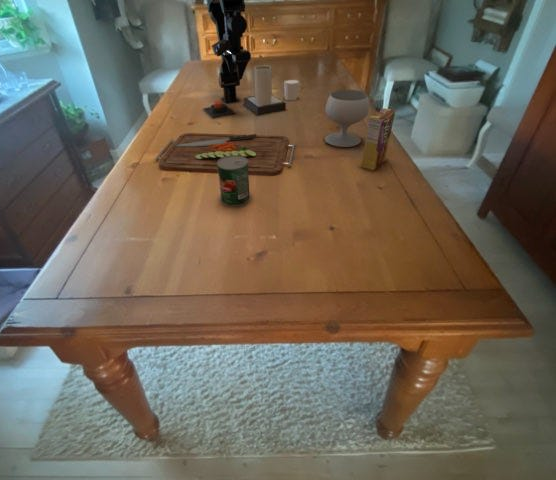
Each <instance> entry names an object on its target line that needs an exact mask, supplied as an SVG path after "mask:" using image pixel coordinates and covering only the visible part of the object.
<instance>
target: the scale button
mask: <svg viewBox="0 0 556 480" xmlns="http://www.w3.org/2000/svg"><path fill="white" fill-rule="evenodd" d="M213 104H214V107H215V108H220V107H223V104H224V103H223V101H220V100H217V101H216V100H215V101H214V102H213Z"/></svg>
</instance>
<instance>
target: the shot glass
mask: <svg viewBox="0 0 556 480" xmlns="http://www.w3.org/2000/svg"><path fill="white" fill-rule="evenodd" d="M283 88H284V89H283V90H284V100H286V101H296V100H298V96H299V95H298V94H299V88H300V80H298V79H285V80H284V81H283Z"/></svg>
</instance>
